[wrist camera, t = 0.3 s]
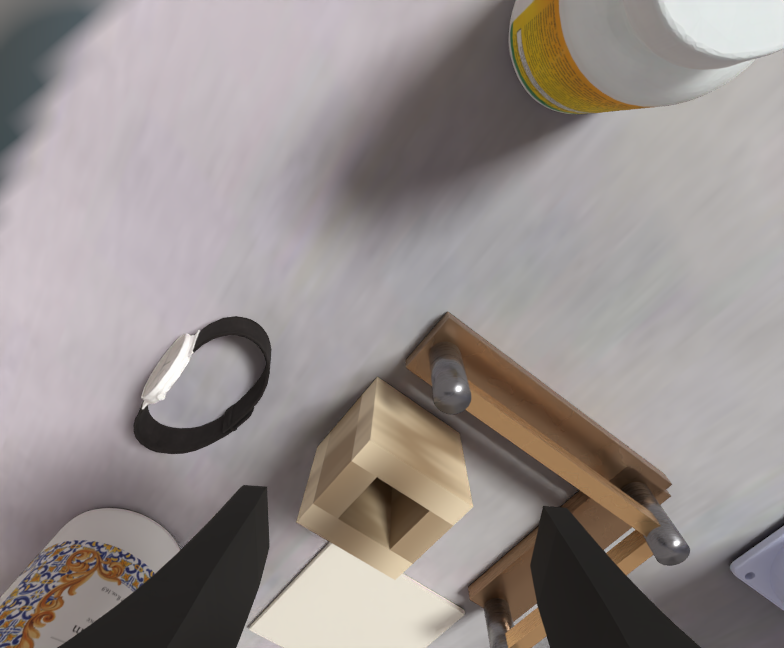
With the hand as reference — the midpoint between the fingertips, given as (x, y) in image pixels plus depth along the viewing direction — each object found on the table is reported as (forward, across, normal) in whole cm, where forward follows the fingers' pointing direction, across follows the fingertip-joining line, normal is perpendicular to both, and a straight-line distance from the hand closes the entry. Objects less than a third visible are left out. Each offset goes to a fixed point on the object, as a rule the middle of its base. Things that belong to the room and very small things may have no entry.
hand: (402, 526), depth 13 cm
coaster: (+10, +2, +17) cm, 20 cm away
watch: (+11, +9, +2) cm, 14 cm away
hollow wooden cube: (+10, 0, +4) cm, 11 cm away
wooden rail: (+10, -4, +7) cm, 13 cm away
